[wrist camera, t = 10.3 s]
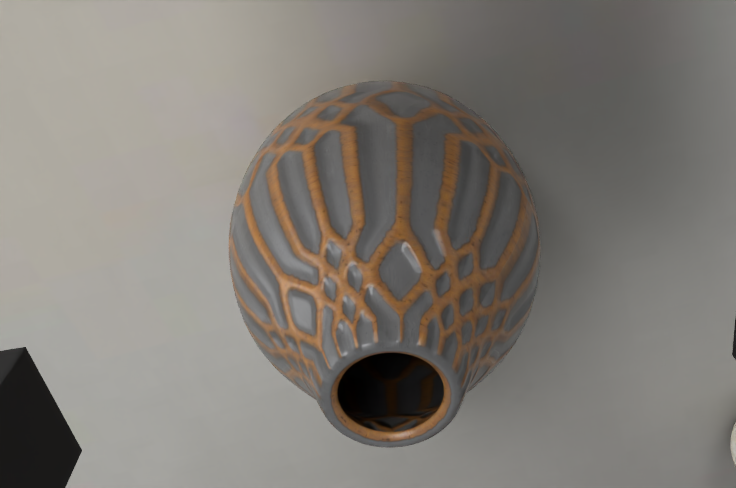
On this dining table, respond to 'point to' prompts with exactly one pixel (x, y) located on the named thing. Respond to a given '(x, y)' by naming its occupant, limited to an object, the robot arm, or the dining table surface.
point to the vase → (385, 256)
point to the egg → (733, 444)
